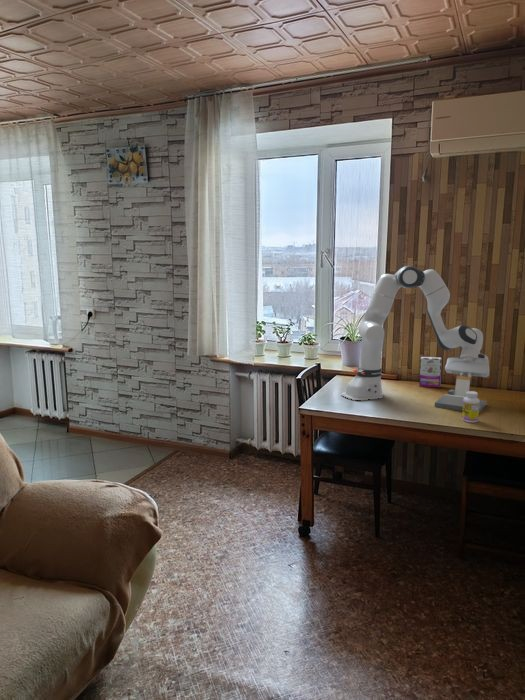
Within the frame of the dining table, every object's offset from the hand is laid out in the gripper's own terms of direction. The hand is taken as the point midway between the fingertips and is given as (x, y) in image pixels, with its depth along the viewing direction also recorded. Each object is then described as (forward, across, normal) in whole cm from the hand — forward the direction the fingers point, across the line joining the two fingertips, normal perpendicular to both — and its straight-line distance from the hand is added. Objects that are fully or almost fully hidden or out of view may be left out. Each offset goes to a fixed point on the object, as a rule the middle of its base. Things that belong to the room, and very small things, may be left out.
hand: (464, 381), depth 242 cm
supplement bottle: (+25, +8, -10) cm, 28 cm away
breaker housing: (+11, 0, +5) cm, 12 cm away
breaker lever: (+8, 0, +3) cm, 9 cm away
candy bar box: (-10, -24, +27) cm, 37 cm away
